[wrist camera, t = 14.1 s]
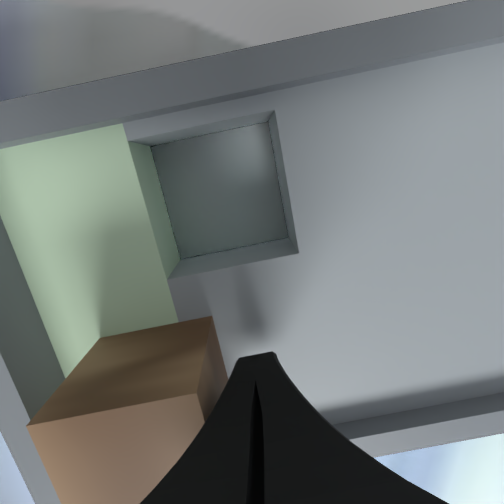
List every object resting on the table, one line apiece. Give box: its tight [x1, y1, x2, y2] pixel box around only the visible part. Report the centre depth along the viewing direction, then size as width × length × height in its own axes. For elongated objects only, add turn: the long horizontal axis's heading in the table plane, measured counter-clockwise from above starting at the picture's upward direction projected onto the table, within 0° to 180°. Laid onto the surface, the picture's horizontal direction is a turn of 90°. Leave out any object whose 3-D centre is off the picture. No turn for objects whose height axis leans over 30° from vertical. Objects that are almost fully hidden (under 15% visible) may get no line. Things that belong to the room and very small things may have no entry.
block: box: [26, 316, 228, 504], centre depth 10 cm, size 4×4×4 cm
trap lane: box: [0, 0, 504, 504], centre depth 11 cm, size 25×14×4 cm, turn 101°
